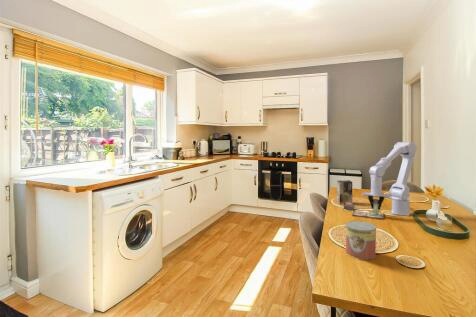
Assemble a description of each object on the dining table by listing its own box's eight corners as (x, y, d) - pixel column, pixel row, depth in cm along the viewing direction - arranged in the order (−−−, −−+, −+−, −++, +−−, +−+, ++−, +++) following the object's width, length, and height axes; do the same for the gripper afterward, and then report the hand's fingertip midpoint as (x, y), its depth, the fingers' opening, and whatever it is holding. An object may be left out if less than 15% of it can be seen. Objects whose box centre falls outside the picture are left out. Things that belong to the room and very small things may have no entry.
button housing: (354, 208, 175) (354, 204, 175) (353, 210, 170) (353, 206, 170) (344, 207, 178) (344, 203, 178) (343, 209, 173) (343, 205, 173)
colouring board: (383, 214, 162) (383, 212, 161) (383, 219, 151) (383, 217, 151) (354, 210, 170) (354, 209, 170) (352, 215, 159) (352, 214, 159)
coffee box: (349, 202, 192) (349, 180, 191) (352, 204, 186) (352, 181, 185) (336, 201, 193) (336, 180, 192) (339, 204, 187) (339, 181, 186)
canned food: (342, 255, 108) (342, 226, 107) (349, 245, 117) (350, 219, 116) (372, 262, 101) (373, 232, 100) (378, 252, 110) (378, 224, 109)
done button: (352, 206, 175) (352, 203, 175) (351, 207, 172) (351, 204, 172) (346, 205, 176) (346, 202, 176) (346, 206, 174) (346, 203, 173)
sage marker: (379, 212, 158) (379, 199, 157) (378, 213, 155) (379, 200, 154) (372, 211, 160) (372, 198, 159) (372, 213, 157) (372, 200, 156)
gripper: (362, 186, 156) (361, 209, 157) (390, 188, 149) (389, 212, 150) (363, 184, 162) (362, 206, 163) (390, 186, 155) (389, 209, 156)
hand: (375, 208), depth 157 cm, fingers closed on sage marker, 3 cm apart
